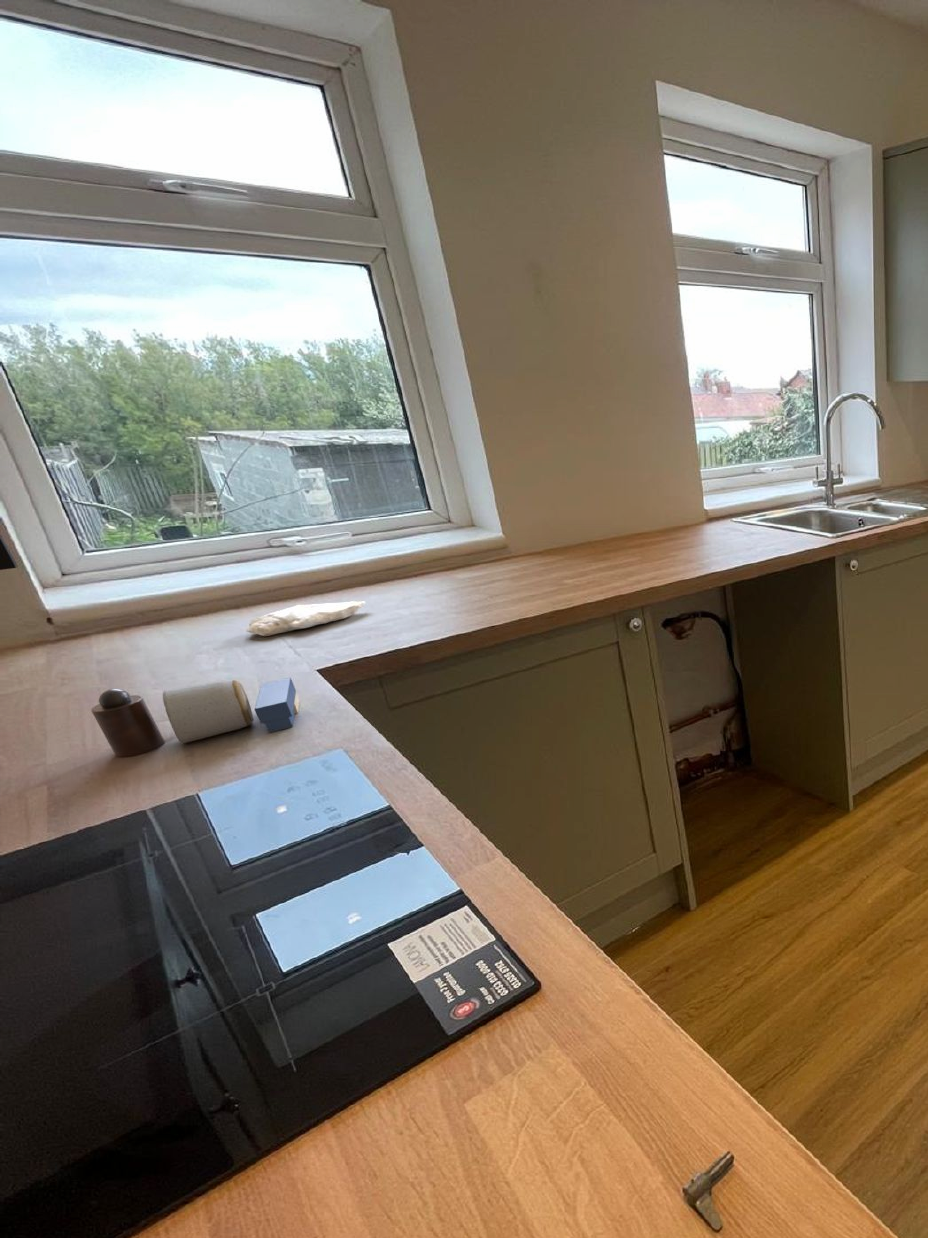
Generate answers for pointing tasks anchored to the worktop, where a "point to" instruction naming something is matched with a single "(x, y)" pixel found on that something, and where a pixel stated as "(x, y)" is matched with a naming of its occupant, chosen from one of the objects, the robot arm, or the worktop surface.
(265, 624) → the rock
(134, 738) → the pepper mill
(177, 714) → the white canister
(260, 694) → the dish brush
